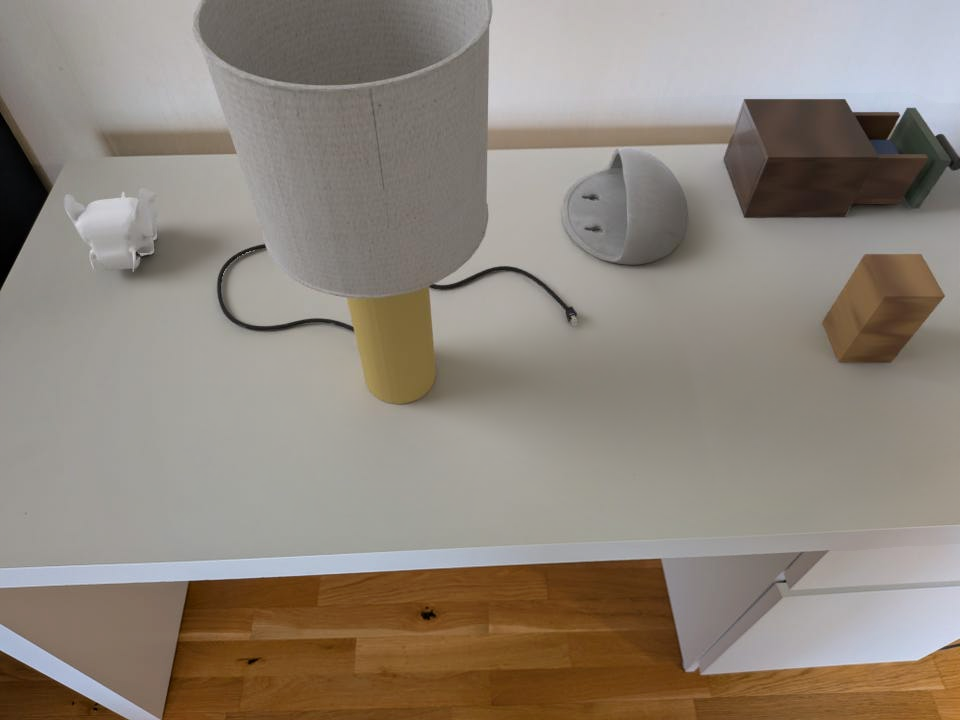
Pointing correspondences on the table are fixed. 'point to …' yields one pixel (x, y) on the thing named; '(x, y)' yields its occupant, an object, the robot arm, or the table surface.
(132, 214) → the elephant figurine
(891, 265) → the stand
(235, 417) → the table surface
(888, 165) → the drawer
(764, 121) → the cabinet
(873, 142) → the block
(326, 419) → the table surface
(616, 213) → the planter
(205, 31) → the table lamp
